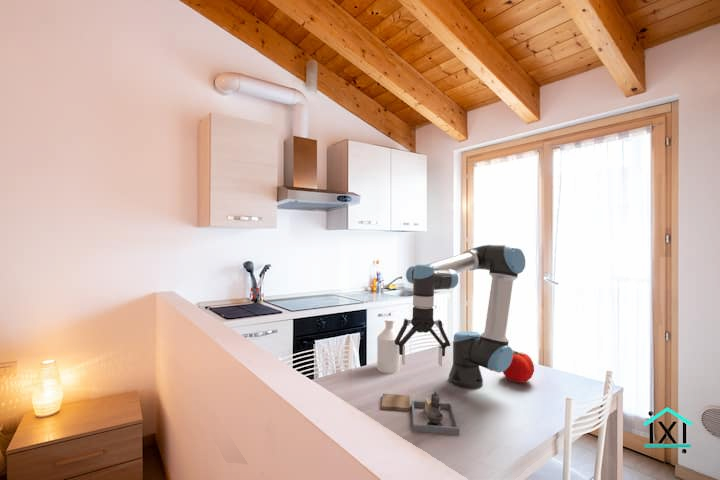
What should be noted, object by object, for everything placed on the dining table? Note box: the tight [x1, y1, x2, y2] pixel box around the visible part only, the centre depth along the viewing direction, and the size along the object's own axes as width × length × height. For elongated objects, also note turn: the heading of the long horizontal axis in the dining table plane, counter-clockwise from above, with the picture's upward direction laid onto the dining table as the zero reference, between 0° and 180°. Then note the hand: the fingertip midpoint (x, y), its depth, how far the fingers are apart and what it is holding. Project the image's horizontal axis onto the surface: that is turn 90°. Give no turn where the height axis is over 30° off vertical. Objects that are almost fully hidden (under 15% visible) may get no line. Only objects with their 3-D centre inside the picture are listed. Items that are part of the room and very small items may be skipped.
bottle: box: [376, 318, 402, 374], centre depth 179 cm, size 12×12×25 cm
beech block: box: [424, 397, 441, 413], centre depth 136 cm, size 4×4×4 cm
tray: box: [411, 400, 461, 435], centre depth 131 cm, size 16×19×2 cm
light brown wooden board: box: [381, 393, 411, 412], centre depth 142 cm, size 11×11×1 cm
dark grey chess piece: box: [426, 391, 444, 426], centre depth 127 cm, size 6×6×12 cm
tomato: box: [502, 349, 535, 384], centre depth 167 cm, size 16×14×14 cm
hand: (421, 364), depth 131 cm, fingers open, 13 cm apart
